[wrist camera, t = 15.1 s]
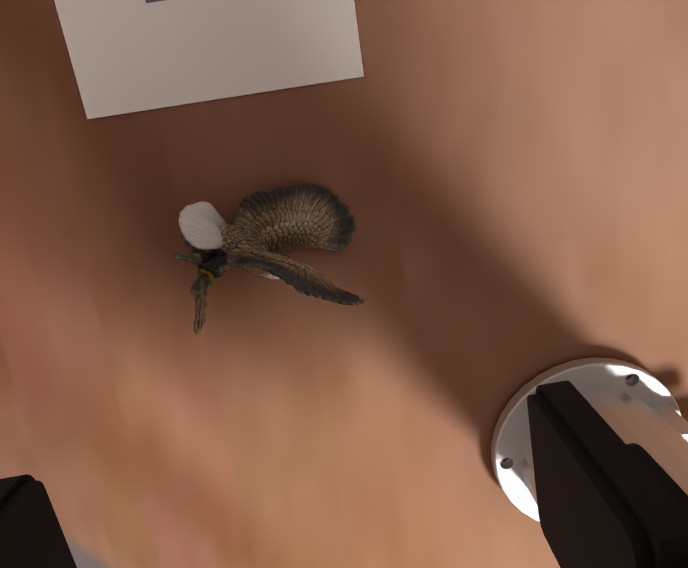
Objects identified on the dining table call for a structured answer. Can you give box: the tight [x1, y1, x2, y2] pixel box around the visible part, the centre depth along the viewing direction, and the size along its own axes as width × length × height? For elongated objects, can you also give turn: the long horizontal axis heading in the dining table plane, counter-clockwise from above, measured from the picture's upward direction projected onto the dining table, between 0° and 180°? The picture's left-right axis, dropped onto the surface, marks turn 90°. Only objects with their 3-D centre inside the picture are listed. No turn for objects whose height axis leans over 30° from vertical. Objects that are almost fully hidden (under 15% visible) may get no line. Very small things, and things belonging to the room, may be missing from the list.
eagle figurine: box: [175, 184, 365, 334], centre depth 30 cm, size 8×7×9 cm
